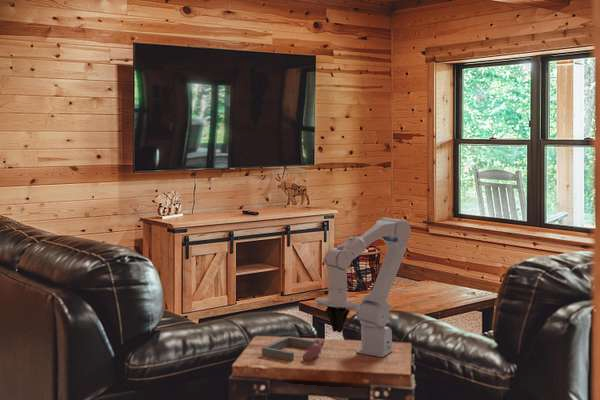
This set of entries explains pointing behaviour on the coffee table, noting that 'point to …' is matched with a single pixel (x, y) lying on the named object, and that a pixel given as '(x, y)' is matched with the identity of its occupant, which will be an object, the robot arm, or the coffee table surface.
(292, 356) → the controller dock
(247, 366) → the coffee table surface
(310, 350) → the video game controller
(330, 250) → the robot arm
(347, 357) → the coffee table surface
